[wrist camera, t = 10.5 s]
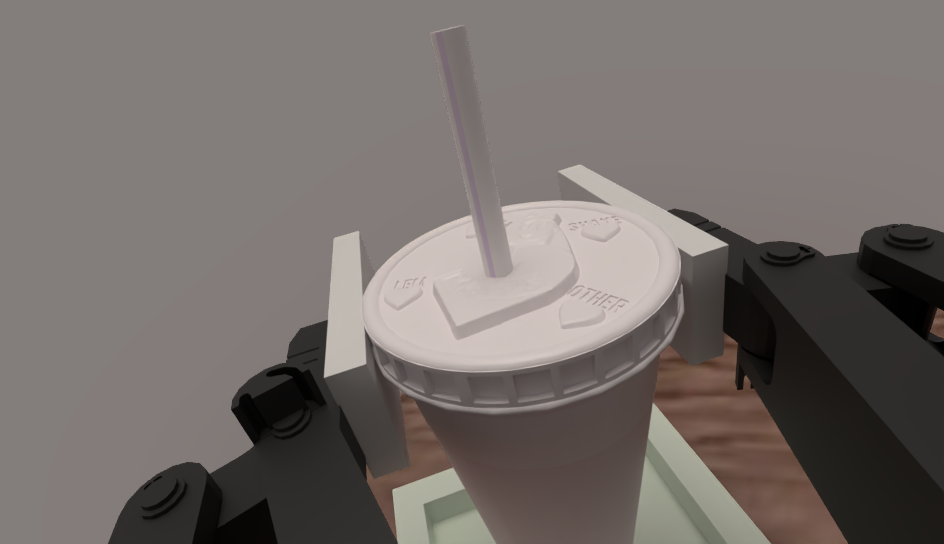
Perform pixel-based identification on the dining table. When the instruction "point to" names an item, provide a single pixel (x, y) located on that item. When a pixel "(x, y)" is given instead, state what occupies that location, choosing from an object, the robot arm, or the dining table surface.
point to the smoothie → (530, 341)
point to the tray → (658, 517)
